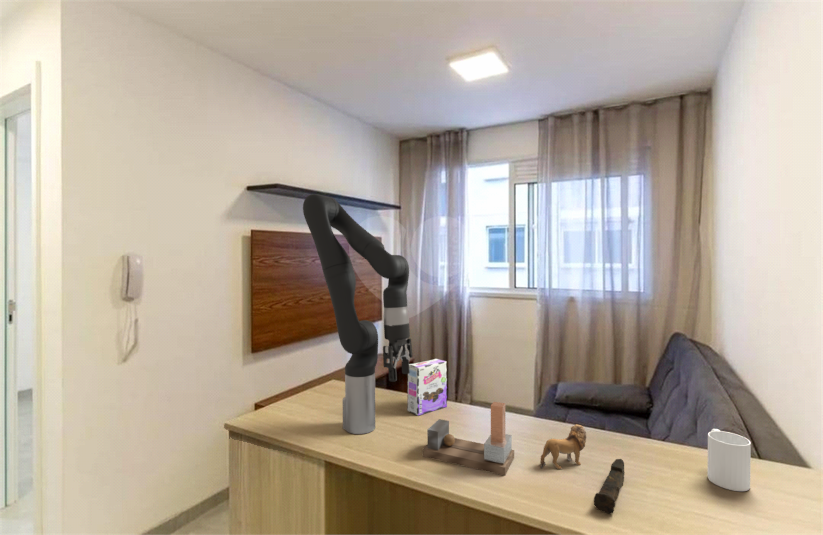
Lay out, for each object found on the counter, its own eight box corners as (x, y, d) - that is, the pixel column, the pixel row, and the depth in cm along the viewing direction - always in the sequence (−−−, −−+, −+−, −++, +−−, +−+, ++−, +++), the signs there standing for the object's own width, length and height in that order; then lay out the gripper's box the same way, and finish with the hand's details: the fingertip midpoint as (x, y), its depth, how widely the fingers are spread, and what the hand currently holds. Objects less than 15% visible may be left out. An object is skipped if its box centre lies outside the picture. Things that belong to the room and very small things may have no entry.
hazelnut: (441, 446, 110) (441, 435, 110) (446, 442, 112) (446, 431, 112) (452, 448, 108) (452, 437, 108) (456, 444, 111) (456, 433, 111)
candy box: (417, 416, 136) (417, 367, 136) (406, 411, 141) (406, 363, 140) (447, 406, 145) (447, 360, 144) (436, 402, 149) (436, 357, 149)
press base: (422, 456, 108) (422, 430, 108) (437, 441, 117) (437, 417, 117) (505, 475, 99) (505, 447, 98) (514, 457, 107) (514, 431, 107)
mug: (757, 494, 90) (758, 447, 90) (715, 489, 92) (716, 443, 92) (731, 467, 102) (732, 425, 102) (695, 463, 104) (695, 422, 104)
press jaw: (484, 459, 102) (484, 407, 102) (492, 446, 109) (492, 398, 109) (504, 464, 100) (504, 411, 99) (511, 450, 107) (511, 400, 106)
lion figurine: (575, 453, 110) (575, 420, 110) (592, 462, 105) (592, 427, 105) (533, 465, 103) (533, 430, 103) (549, 475, 99) (549, 438, 98)
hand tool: (614, 517, 83) (614, 495, 83) (593, 510, 85) (593, 488, 85) (634, 479, 97) (634, 459, 97) (615, 473, 100) (616, 454, 100)
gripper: (396, 319, 128) (399, 371, 128) (373, 325, 115) (376, 383, 115) (417, 319, 125) (420, 372, 125) (396, 325, 112) (400, 384, 112)
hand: (399, 377), depth 120 cm, fingers open, 8 cm apart
